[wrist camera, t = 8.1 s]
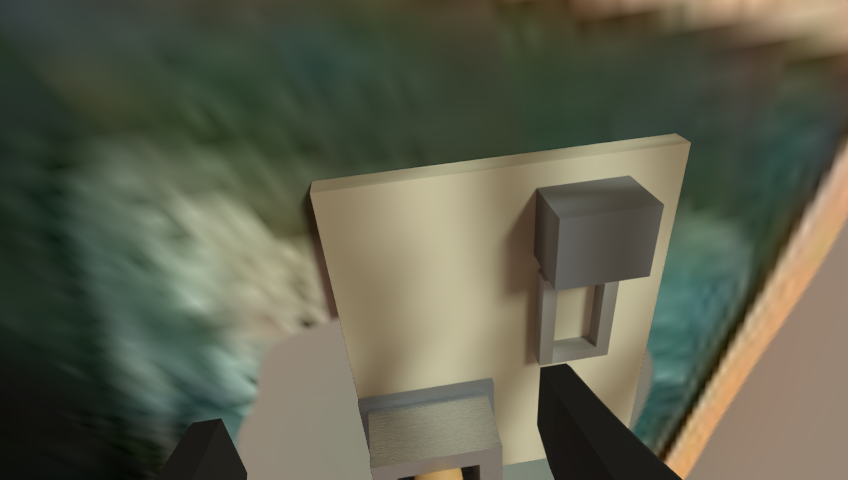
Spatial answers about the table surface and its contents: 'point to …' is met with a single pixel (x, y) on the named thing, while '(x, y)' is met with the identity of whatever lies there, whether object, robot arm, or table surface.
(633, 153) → the board
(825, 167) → the table surface
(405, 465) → the square metal tube
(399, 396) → the square tray with peg
